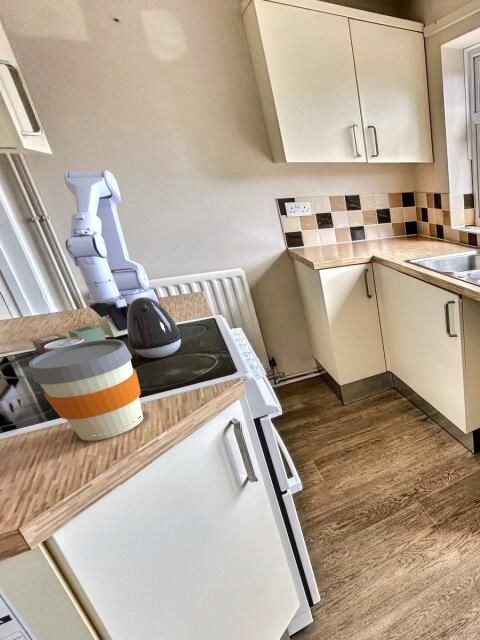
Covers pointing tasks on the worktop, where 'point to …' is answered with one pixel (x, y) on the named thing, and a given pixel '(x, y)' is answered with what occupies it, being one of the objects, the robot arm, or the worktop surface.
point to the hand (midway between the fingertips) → (119, 328)
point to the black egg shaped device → (151, 329)
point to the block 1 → (46, 342)
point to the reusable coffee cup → (91, 387)
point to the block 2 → (88, 333)
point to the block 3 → (110, 327)
